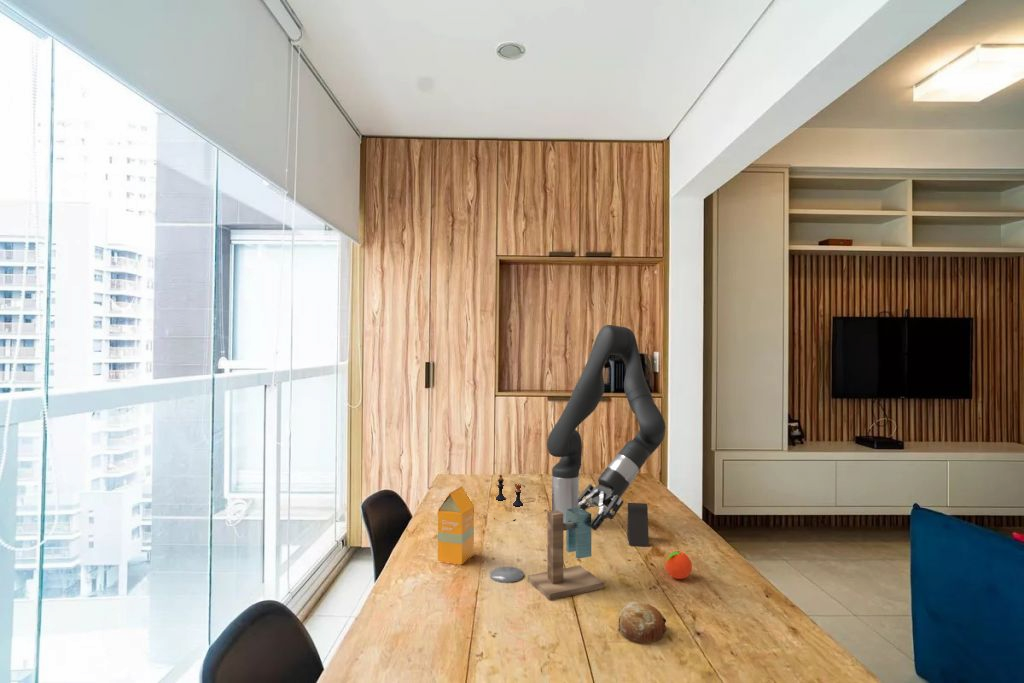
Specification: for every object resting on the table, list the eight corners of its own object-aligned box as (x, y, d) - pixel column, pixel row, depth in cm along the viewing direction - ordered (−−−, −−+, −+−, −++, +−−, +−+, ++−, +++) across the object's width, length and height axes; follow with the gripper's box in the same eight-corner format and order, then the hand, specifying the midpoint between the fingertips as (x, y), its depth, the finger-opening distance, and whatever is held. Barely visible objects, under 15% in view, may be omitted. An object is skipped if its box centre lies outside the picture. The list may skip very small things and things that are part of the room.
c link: (566, 550, 144) (566, 509, 144) (579, 548, 146) (579, 507, 146) (578, 558, 139) (578, 515, 139) (591, 556, 140) (591, 513, 140)
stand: (527, 581, 142) (527, 508, 143) (579, 570, 149) (579, 501, 149) (549, 600, 132) (549, 521, 132) (604, 588, 138) (604, 513, 139)
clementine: (675, 586, 139) (675, 558, 139) (656, 576, 146) (656, 549, 146) (697, 580, 143) (697, 553, 143) (678, 570, 149) (678, 544, 149)
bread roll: (620, 637, 122) (605, 605, 122) (660, 615, 123) (645, 584, 122) (634, 662, 112) (617, 628, 112) (677, 639, 113) (661, 604, 113)
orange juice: (474, 554, 161) (474, 486, 162) (461, 565, 153) (462, 494, 153) (450, 551, 164) (450, 484, 164) (437, 561, 155) (437, 492, 156)
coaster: (485, 572, 148) (485, 570, 148) (515, 566, 152) (515, 564, 152) (498, 585, 140) (498, 582, 140) (529, 579, 144) (529, 576, 144)
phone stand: (648, 547, 167) (648, 508, 167) (629, 546, 168) (628, 507, 168) (645, 537, 176) (645, 500, 176) (627, 536, 177) (626, 499, 177)
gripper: (595, 461, 153) (560, 507, 148) (626, 471, 140) (589, 522, 135) (611, 478, 155) (577, 524, 150) (643, 490, 142) (607, 540, 137)
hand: (583, 523), depth 143 cm, fingers open, 8 cm apart
